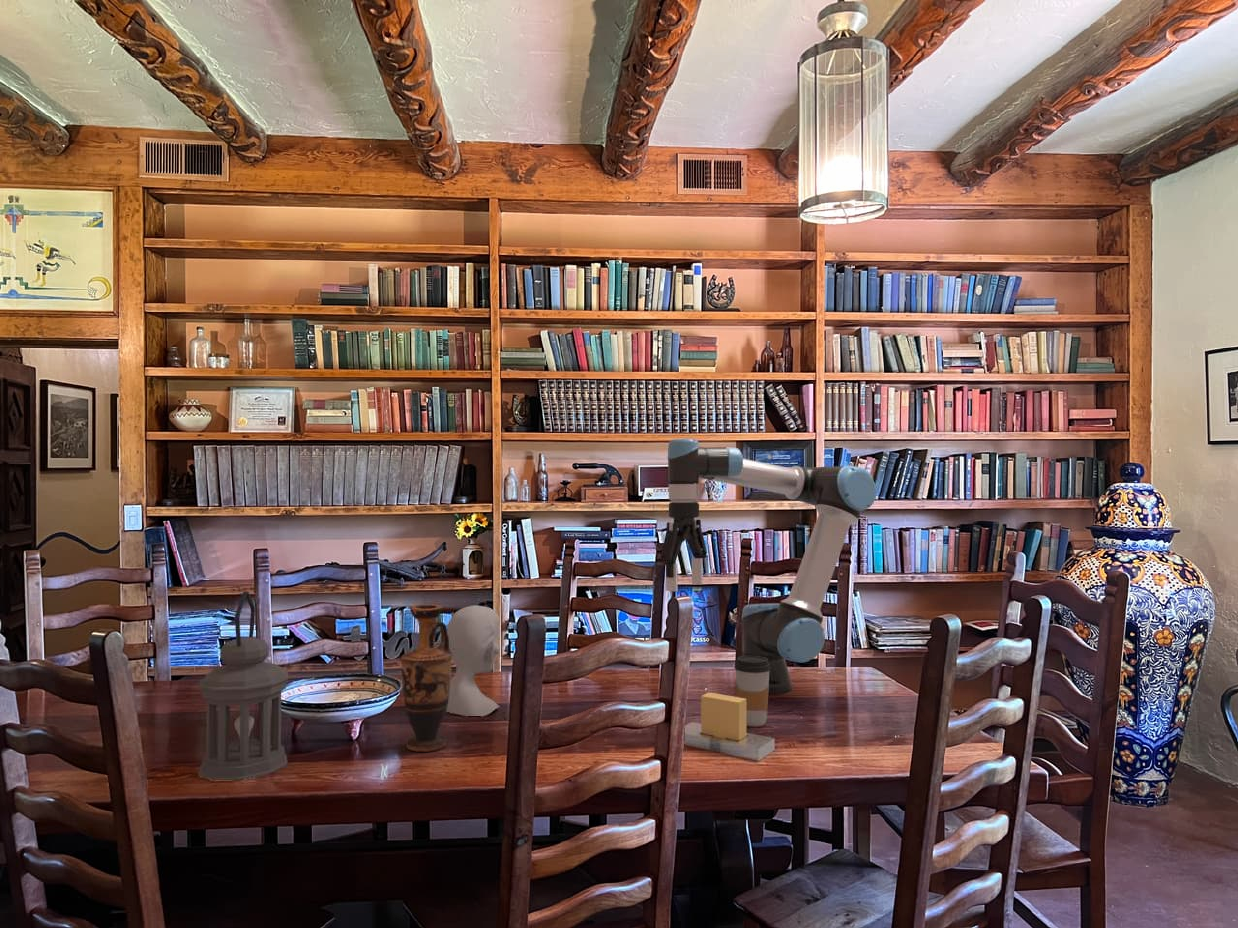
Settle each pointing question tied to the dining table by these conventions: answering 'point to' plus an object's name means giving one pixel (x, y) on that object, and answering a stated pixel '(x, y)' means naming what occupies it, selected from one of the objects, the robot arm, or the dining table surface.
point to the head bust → (472, 658)
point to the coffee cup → (753, 687)
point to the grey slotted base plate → (730, 743)
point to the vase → (427, 680)
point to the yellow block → (723, 716)
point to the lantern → (243, 708)
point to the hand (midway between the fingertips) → (684, 587)
